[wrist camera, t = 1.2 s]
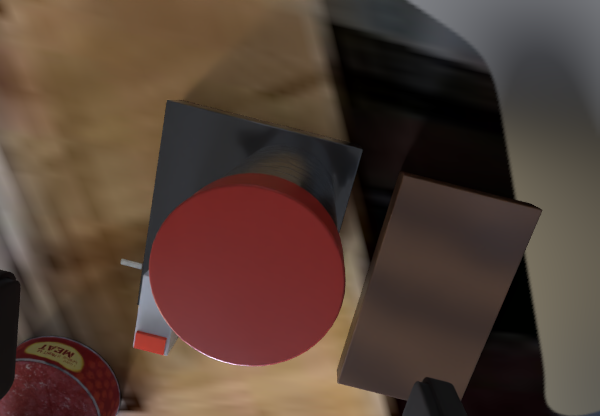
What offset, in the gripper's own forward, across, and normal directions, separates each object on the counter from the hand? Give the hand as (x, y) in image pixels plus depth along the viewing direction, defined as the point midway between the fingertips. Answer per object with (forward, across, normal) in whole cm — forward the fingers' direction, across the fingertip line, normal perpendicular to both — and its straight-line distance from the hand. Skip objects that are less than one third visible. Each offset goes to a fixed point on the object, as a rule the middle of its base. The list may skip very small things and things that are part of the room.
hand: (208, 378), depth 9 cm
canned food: (+19, +14, +20) cm, 31 cm away
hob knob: (+16, +5, +6) cm, 18 cm away
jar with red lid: (+16, 0, -1) cm, 16 cm away
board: (+19, -11, +4) cm, 23 cm away
